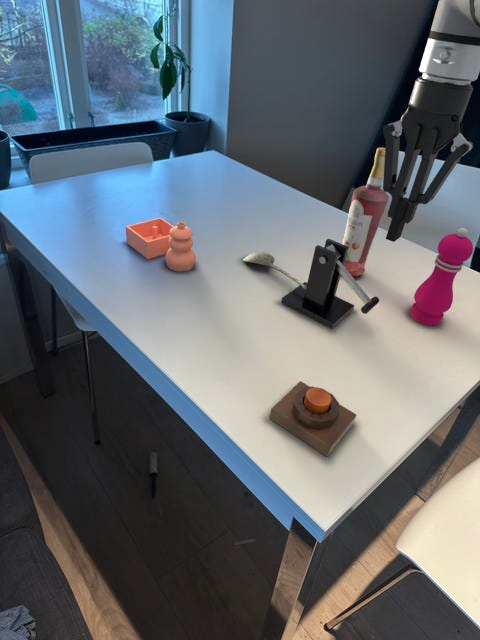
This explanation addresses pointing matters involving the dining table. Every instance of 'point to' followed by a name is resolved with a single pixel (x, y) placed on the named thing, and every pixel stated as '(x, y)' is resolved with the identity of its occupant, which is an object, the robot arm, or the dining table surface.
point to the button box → (312, 420)
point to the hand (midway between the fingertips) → (392, 237)
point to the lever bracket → (322, 288)
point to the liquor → (365, 217)
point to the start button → (317, 400)
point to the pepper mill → (441, 279)
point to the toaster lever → (354, 284)
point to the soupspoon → (268, 263)
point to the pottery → (163, 242)
